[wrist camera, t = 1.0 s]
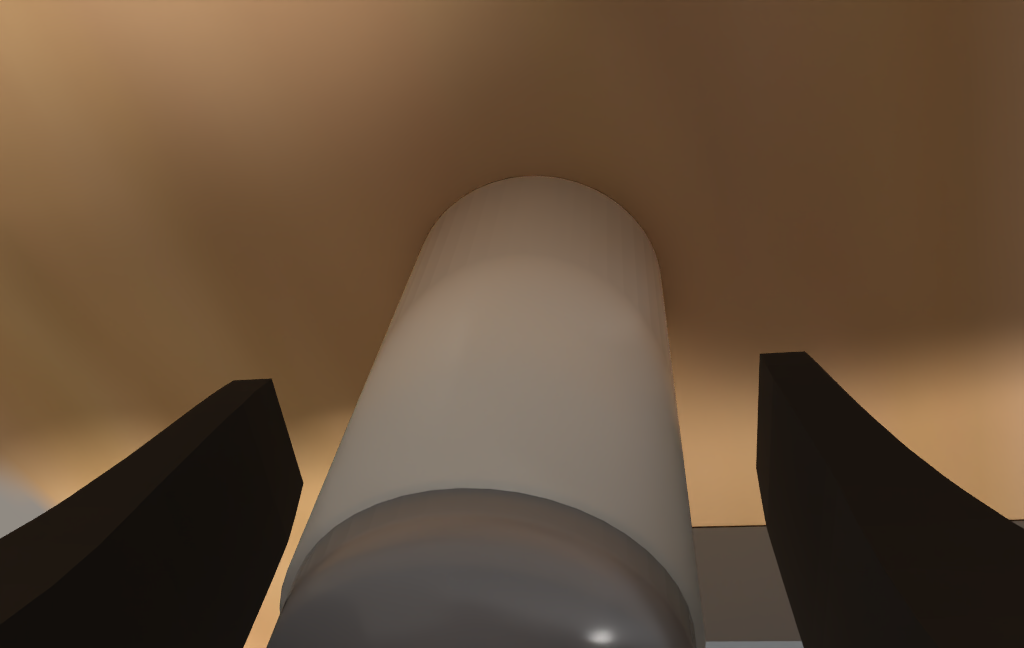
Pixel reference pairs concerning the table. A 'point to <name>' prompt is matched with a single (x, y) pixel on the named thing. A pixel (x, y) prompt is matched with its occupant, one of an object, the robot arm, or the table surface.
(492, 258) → the cylinder
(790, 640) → the tray
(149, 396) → the table surface
